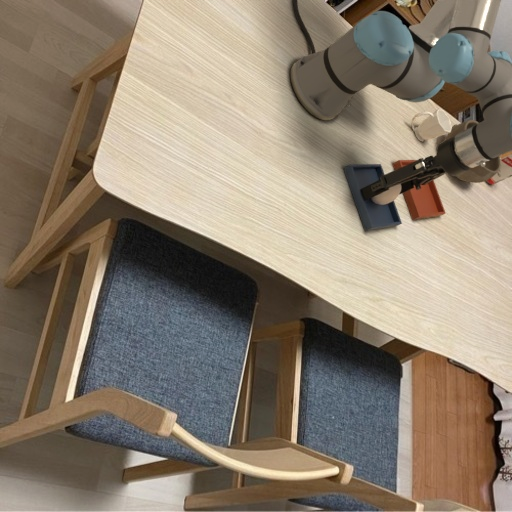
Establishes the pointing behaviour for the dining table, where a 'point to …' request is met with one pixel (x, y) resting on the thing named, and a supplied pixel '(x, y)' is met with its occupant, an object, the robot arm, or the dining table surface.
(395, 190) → the egg
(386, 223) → the blue tray
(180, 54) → the dining table surface
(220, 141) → the dining table surface
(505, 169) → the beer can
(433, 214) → the terracotta tray
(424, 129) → the cup
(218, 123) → the dining table surface
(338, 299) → the dining table surface
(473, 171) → the bowl
